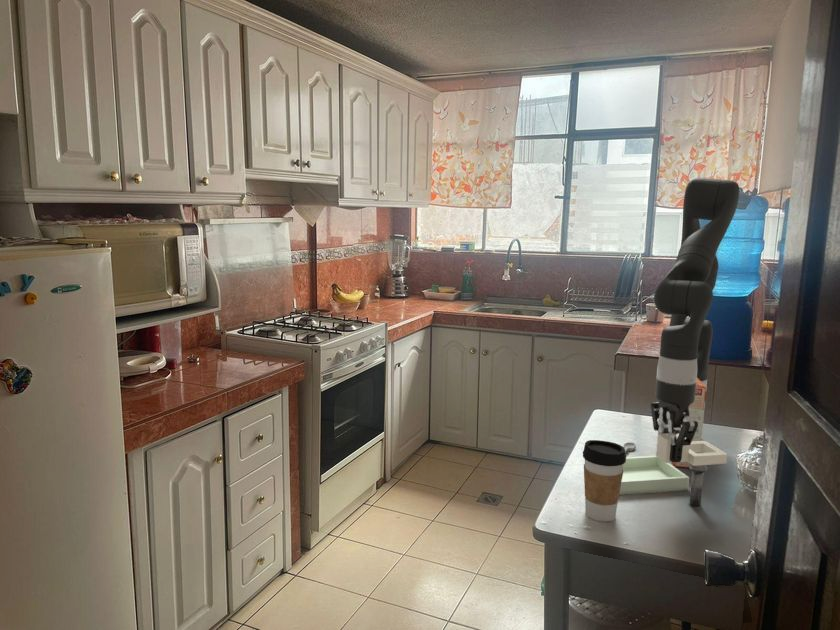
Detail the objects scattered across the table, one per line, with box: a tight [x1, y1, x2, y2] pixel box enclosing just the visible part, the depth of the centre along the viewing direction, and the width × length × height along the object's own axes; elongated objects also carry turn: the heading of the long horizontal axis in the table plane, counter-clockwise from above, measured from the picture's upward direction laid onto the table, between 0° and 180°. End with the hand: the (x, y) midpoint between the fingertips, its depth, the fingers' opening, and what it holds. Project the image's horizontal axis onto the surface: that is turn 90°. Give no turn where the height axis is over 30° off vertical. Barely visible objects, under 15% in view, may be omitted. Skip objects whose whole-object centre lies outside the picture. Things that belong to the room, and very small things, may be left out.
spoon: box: [623, 441, 637, 454], centre depth 158 cm, size 3×12×2 cm, turn 144°
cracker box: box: [672, 378, 708, 469], centre depth 154 cm, size 14×6×21 cm, turn 168°
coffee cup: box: [582, 439, 627, 523], centre depth 124 cm, size 8×8×15 cm
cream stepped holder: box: [655, 433, 728, 466], centre depth 128 cm, size 12×8×5 cm, turn 100°
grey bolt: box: [688, 464, 708, 508], centre depth 130 cm, size 3×3×9 cm
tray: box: [619, 455, 690, 496], centre depth 142 cm, size 13×18×3 cm
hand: (669, 457), depth 127 cm, fingers closed on cream stepped holder, 3 cm apart
